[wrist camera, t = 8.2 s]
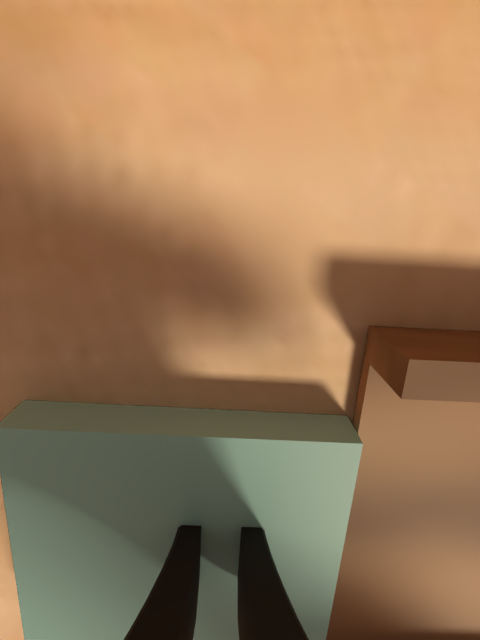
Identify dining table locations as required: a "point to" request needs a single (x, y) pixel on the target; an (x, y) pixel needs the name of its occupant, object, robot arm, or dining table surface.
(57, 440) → the teal plate
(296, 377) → the dining table surface
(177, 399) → the dining table surface
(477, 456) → the walnut tray
